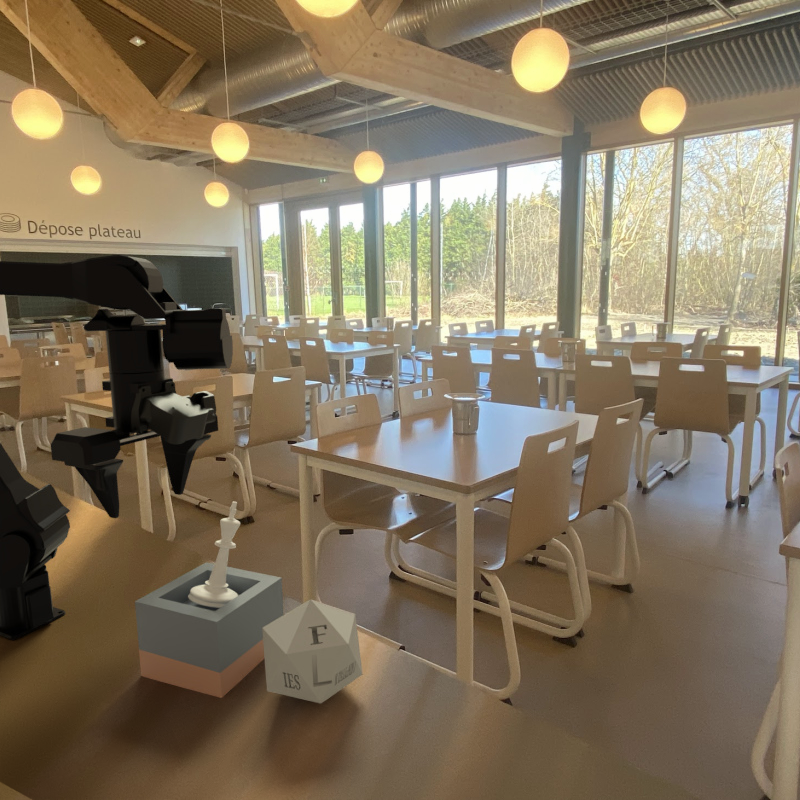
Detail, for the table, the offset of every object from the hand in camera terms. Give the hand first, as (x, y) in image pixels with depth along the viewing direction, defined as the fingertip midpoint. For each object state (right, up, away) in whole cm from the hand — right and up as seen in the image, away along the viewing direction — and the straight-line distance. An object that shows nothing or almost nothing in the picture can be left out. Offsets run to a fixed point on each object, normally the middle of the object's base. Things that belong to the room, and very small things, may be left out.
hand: (148, 505), depth 75 cm
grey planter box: (+10, -15, -9) cm, 20 cm away
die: (+21, -16, -16) cm, 31 cm away
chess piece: (+10, -8, -10) cm, 16 cm away
